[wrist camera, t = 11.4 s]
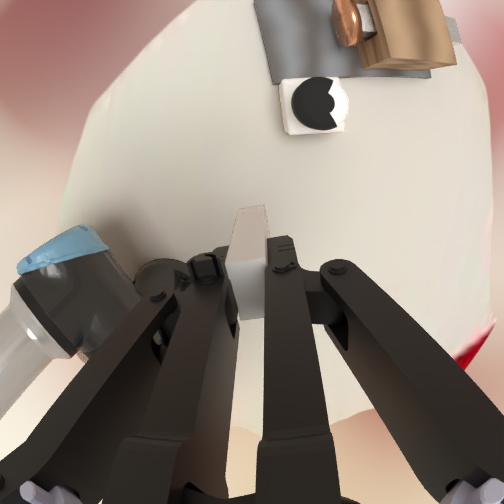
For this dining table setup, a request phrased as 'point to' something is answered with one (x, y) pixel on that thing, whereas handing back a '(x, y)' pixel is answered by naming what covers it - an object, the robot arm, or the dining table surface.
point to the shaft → (366, 23)
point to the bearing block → (354, 57)
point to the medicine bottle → (313, 105)
